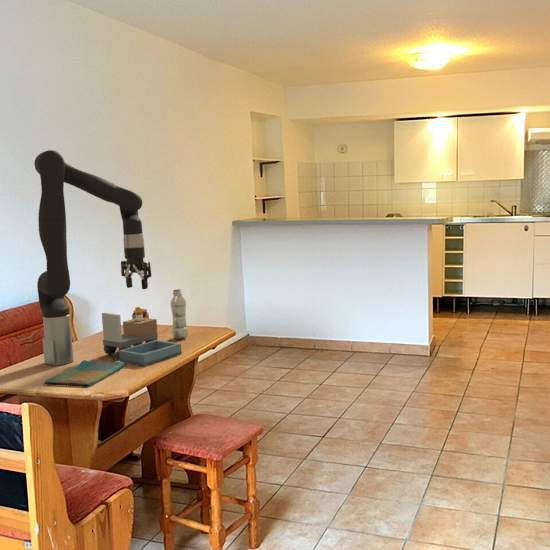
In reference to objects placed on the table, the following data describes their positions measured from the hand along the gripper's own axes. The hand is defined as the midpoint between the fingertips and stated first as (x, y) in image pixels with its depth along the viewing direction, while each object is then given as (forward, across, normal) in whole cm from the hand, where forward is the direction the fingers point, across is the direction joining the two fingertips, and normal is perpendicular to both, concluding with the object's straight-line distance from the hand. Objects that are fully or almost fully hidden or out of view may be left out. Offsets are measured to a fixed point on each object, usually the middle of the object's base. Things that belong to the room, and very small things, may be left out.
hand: (137, 288), depth 243 cm
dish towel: (+24, +11, -34) cm, 43 cm away
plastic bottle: (+24, +2, +19) cm, 31 cm away
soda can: (+24, -12, +11) cm, 29 cm away
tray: (+24, +14, -8) cm, 29 cm away
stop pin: (+18, 0, 0) cm, 18 cm away
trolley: (+24, 0, -5) cm, 24 cm away
